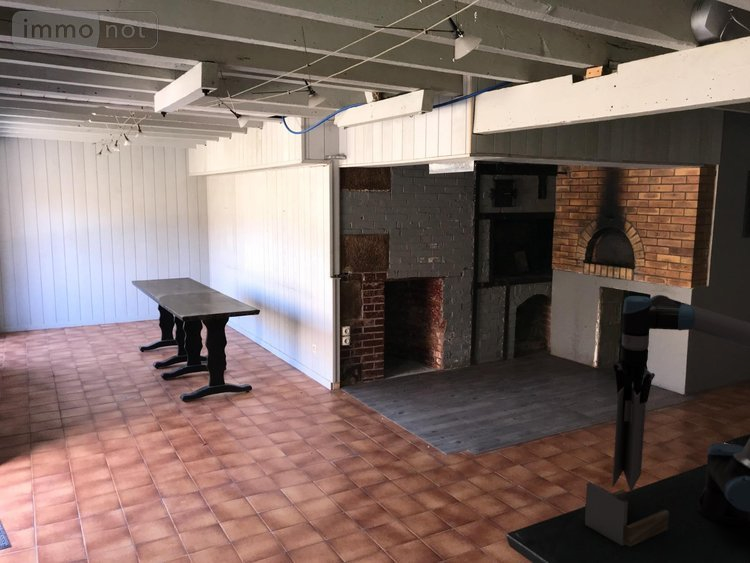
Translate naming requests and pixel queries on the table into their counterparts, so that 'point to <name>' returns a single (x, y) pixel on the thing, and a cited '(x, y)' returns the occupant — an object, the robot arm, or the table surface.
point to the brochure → (629, 440)
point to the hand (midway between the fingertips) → (631, 421)
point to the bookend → (606, 513)
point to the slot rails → (644, 525)
